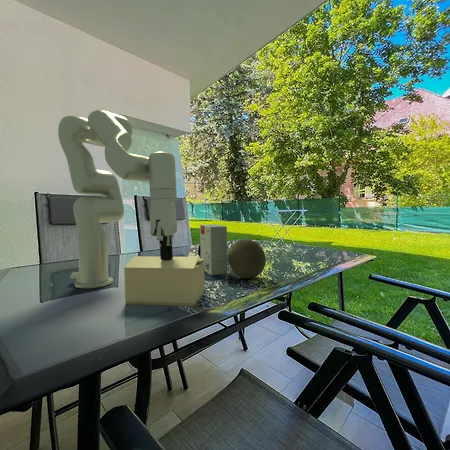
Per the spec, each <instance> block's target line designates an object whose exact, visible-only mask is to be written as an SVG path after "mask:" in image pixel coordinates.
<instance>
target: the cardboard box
mask: <svg viewBox="0 0 450 450" xmlns="http://www.w3.org/2000/svg"><path fill="white" fill-rule="evenodd" d="M123 269H124V268H123ZM205 276H206V275H205V270H204V261H202V262H197V264H196V267H195V269H194V270H156V269H124V292H125V293H124V295H125V305H138V306H139V305H142V306H145V305H146V306H167V307H168V306H170V307H171V306H172V307H173V306H174V307H177V306H178V307H195V306H196V305H197V303H199V301H200V300H201V298H202V296H203V294H204V293H205V289H206V288H205V287H206V284H205V283H206V282H205Z"/></svg>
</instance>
